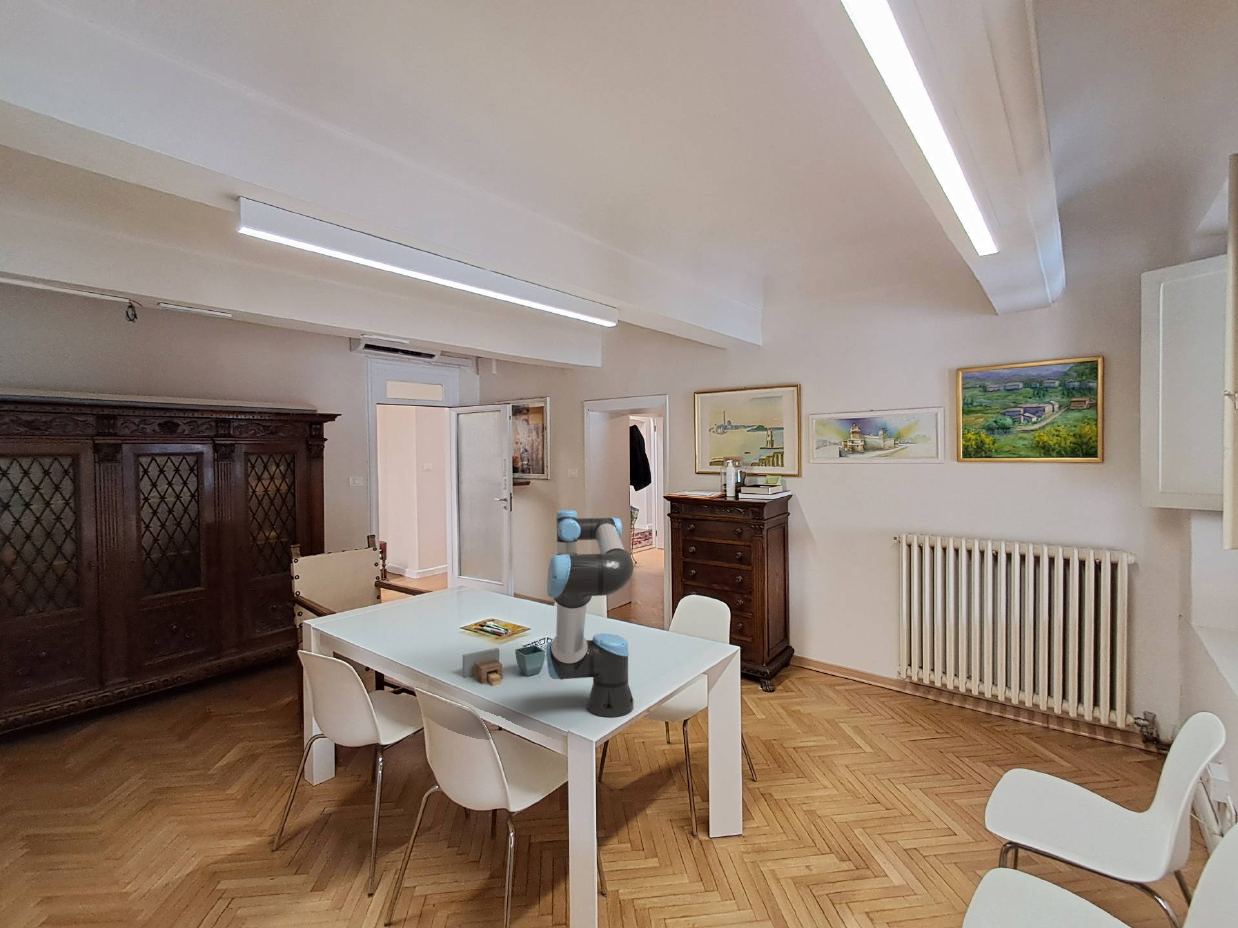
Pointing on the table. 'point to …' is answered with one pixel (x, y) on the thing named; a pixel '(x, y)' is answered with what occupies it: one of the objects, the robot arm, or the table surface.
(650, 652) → the table surface
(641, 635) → the table surface
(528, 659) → the flower pot
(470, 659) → the wall
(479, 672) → the block
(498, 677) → the dowel
